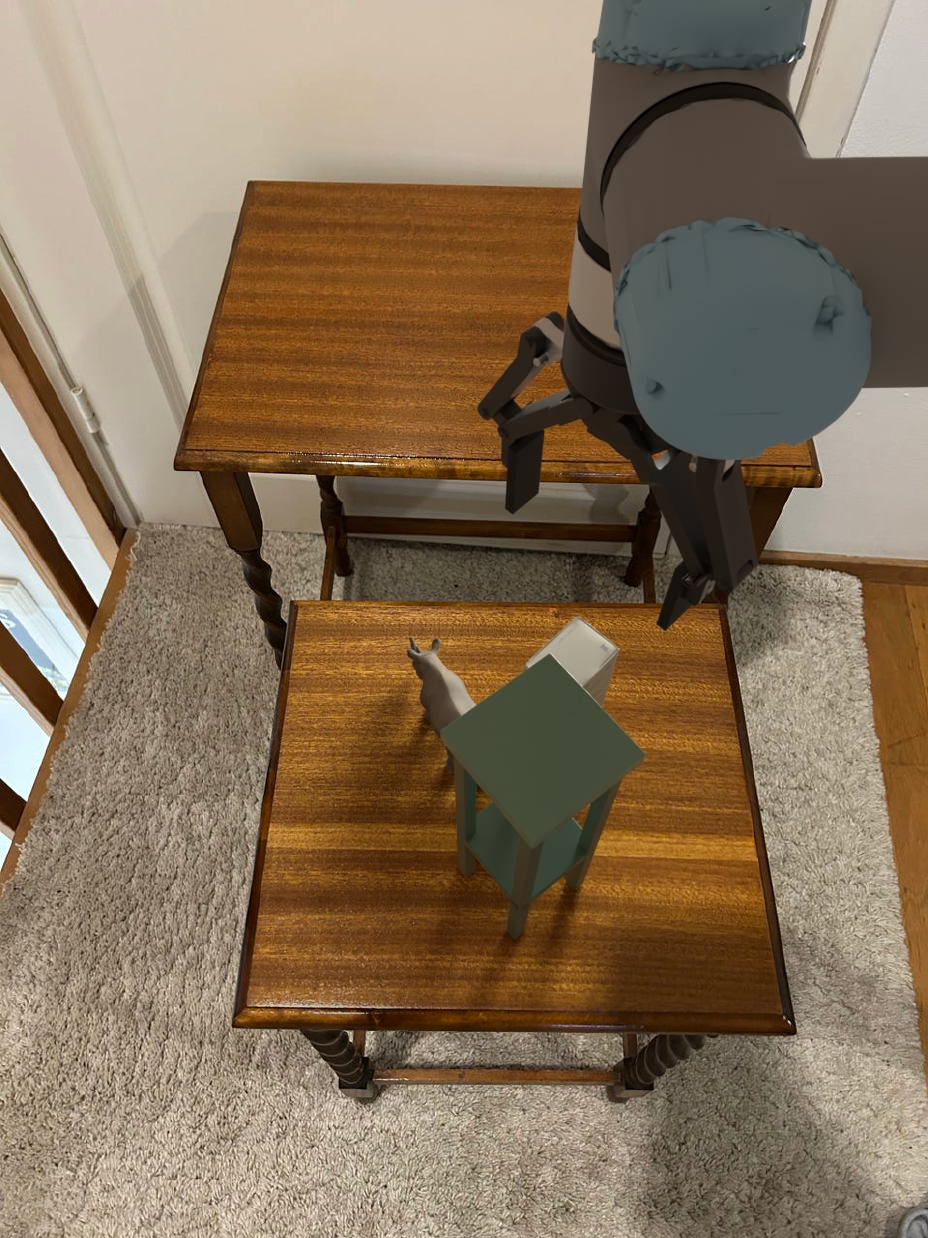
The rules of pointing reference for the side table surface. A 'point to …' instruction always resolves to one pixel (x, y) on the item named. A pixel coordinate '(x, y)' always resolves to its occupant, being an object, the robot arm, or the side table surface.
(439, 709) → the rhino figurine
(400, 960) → the side table surface
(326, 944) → the side table surface
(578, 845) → the stand
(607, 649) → the cosmetic box
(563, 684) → the green square board
